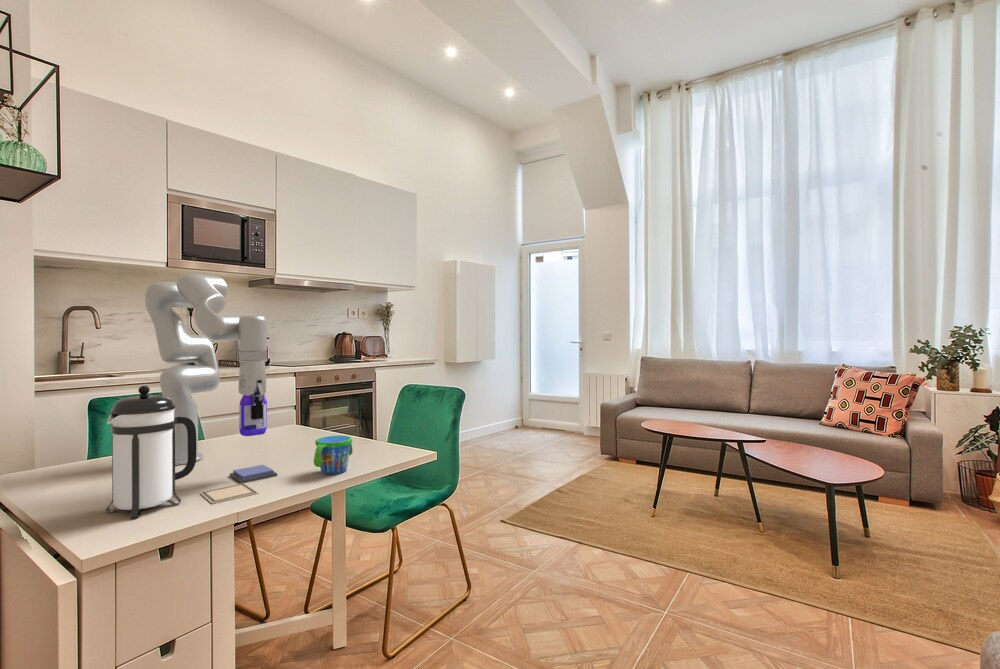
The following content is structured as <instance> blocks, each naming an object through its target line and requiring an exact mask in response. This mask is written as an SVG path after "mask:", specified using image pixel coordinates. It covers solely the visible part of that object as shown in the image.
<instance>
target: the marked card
mask: <svg viewBox="0 0 1000 669" xmlns="http://www.w3.org/2000/svg"><path fill="white" fill-rule="evenodd" d="M257 494H259V491H257V490H255V489H254V488H252V486H249V485H248V484H246V482H245V483H239V484H234V485H230V486H229V485H228V486H224V487H220V488H214V489H210V490H206V491H201V492H199V495H200V496H202V497H203V498H204V497H205V498H204V499H206V501H208V502H209V503H210V502H211V503H212V504H211V503H210V504H211V505H215V504H217V503H218V502H219V503H223V502H227V501H226V500H228V501H231V499H232V500H236V499H235V498H237V499H239V498H240V497H241V498H245V497H249V496H254V495H257ZM241 498H240V499H241ZM222 501H223V502H222ZM214 503H215V504H214ZM219 503H218V504H219Z"/></svg>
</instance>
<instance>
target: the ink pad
mask: <svg viewBox="0 0 1000 669" xmlns="http://www.w3.org/2000/svg"><path fill="white" fill-rule="evenodd" d="M277 476H278V473H277V472H276V471H275V470H274V469H272V468H270V467H269V466H267V465H265V464H259V465H253V466H248V467H244V468H238V469H234V470H233V471H232V472H229V477H230V478H232V479H234V480H235V481H236V480H237V482H238V483H239V484H243V483H245V484H246V483H250V482H254V481H259V480H263V479H269V478H274V477H277Z"/></svg>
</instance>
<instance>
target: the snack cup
mask: <svg viewBox="0 0 1000 669" xmlns="http://www.w3.org/2000/svg"><path fill="white" fill-rule="evenodd" d="M314 443H315V446H316V448H315V452H314V456H313V464H314V466H315V467H317V468H320V472H321V473H322V474H325V475H337V474H341V473H344V472H345V471H347V469H348V463H349V459H350V458H349V457H350V456H351V455H352V454H353V445H352V443H353V437H351V436H349V435H348V436H347V435H328V436H327V435H326V436H322V437H318V438H316V439H315V441H314Z"/></svg>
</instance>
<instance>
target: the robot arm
mask: <svg viewBox="0 0 1000 669" xmlns="http://www.w3.org/2000/svg"><path fill="white" fill-rule="evenodd" d="M228 288H229V287H228V284H227V282H226V281H225V280H224V279H223V278H222V277H220V276H217V275H212V274H211V275H210V274H204V273H203V274H200V273H186V274H183V275H181V276H180V277H178V279H177V281H157V282H153V283H151V284H150V285H148V286H147V288H146V290H145V293H144V304H145V307H146V311H147V312H148V315H149V317H150V320H151V322H152V324H153V327H154V331H155V332H154V333H155V336H156V341H157V345H158V346H157V347H158V351H159V356H160V357H161V360H162V361H163V362H165V363H169V364H183V363H185V364H187V363H194V365H192V364H190V365H189V364H188V365H175V366H171V367H168V368H166V369H164V370H162V372H161V374H160V376H159V386H160V390H161V395H162V396H167V397H169V398H171V399H172V401H173V403H174V404H176V408H175V410H174V418H176V417H186V418H189V419H191V420H192V421H193V423H194V425H195V428H196V462H199V461H201V460H203V458H204V453H202V452H199V412H198V411H199V409H198V404H197V402H196V401H195V399H194V398H193V397H192V396H191V395H192V394H197V393H205V392H206V393H207V392H213V391H215V390H216V389H217V388H218V386H219V385H220V380H221V376H220V370H219V364H218V360H217V356H216V351H215V347H214V344H213V342H212V341H211V340H214V341H238V363H240V364H239V371H238V394H240V395H242V396H243V395H245V396H251V397H252V405H253V406H251V419H253V420H254V419H262V418H263V404H264V402H263V400H264V396H265V397H266V395H265V394H266V393H267V372H266V371H267V370H266V362H268V324H267V323H268V322H267V321H268V320H267V318H266V317H265V316H263V315H236V314H219V313H221V311H223V310H224V308H225V306H226V297H227V295H228V292H229V289H228ZM173 308H183V309H185V308H186V309H194V313H193V314H194V316H193V318H194V321H195V325H196V327H197V328H198V329H199V330H200V331H201V332H202V333H203V334H204V335H203V334H202V335H201V334H188V332H187V329H186V324H185V321H184V320H183V318H182V317H181V316H180V315H179V314H178V313H177V312H176V311H175V310H174V309H173ZM254 393H258V394H257V395H254ZM255 397H256V400H255ZM187 461H188V433H187V428H186V426H185V425H184V424H182V423H181V424H175V466H178V465H180V466H181V465H187Z"/></svg>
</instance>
